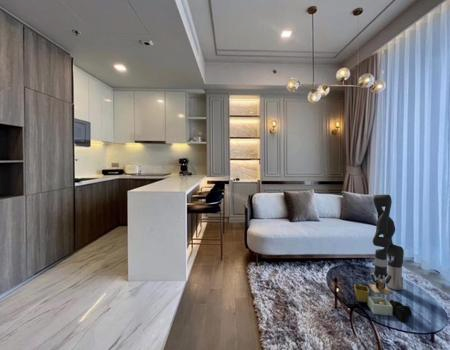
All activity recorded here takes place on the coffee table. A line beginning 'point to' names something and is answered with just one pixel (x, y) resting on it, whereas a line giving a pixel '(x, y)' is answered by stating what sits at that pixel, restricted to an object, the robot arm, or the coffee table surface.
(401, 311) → the film camera
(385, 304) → the pale green open box
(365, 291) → the flower pot
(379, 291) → the lid
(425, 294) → the coffee table surface
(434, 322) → the coffee table surface
